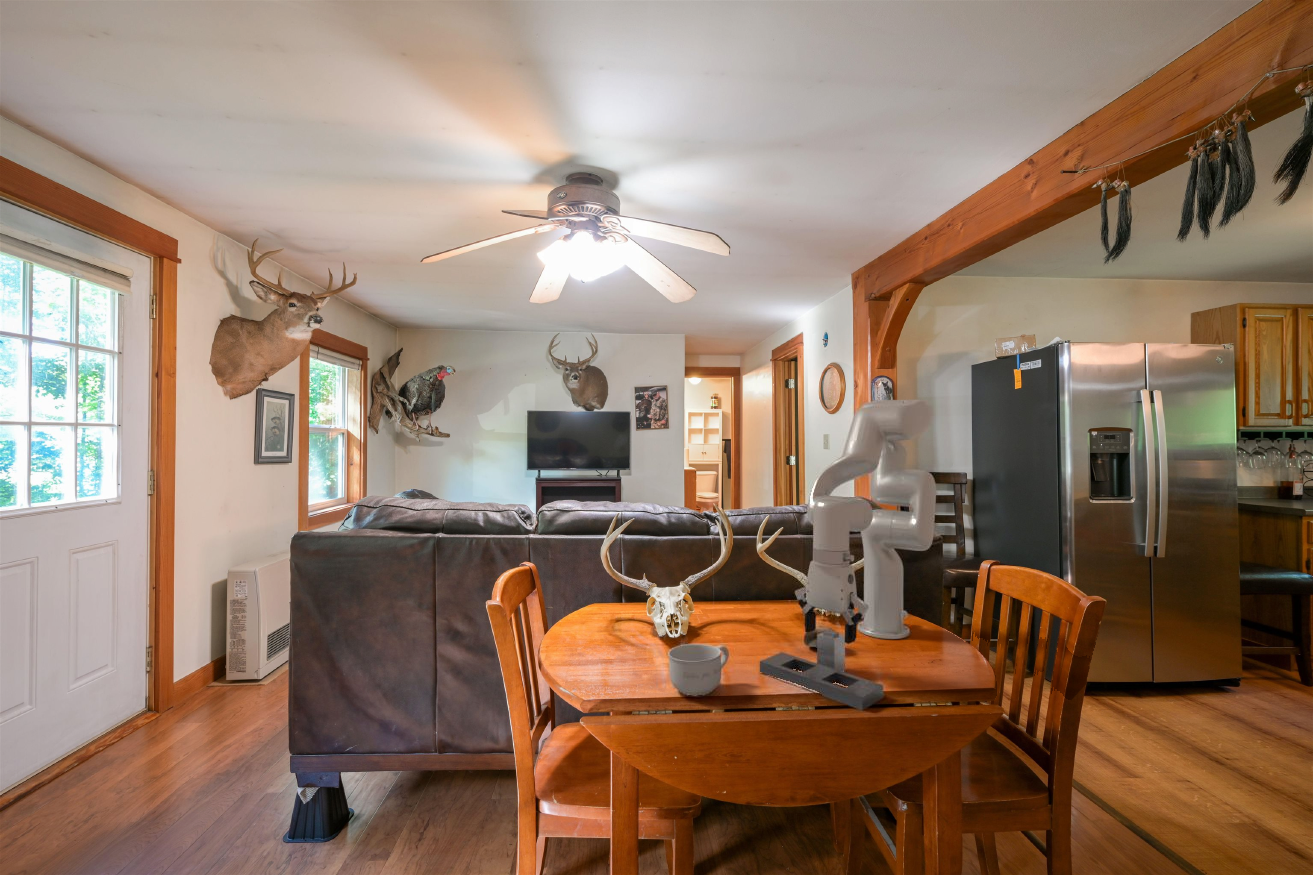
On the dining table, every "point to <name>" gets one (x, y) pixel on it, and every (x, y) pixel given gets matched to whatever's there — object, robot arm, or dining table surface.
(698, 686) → the teacup
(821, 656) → the grey rectangular block
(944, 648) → the dining table surface
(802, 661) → the rail
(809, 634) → the mushroom
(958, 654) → the dining table surface
